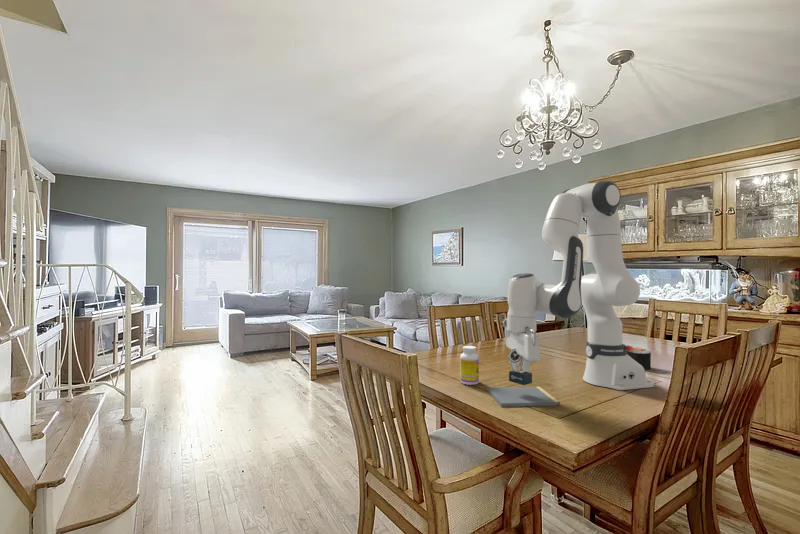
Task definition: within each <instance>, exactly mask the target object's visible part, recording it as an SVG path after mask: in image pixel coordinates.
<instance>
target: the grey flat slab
mask: <svg viewBox="0 0 800 534" xmlns="http://www.w3.org/2000/svg"><path fill="white" fill-rule="evenodd" d="M487 392H488V394H490V395H491V397H492V396H493V397H492V398H493V399H494V401H496V403H498V405H499V406H500V407H502V408H503V407H504V408H505V407H508V406H511V407H546V406H553V407H555V406H561V402H560V401H559V400H558V399H557V398H555V397H554V396H553V395H552V394H550V393H549V392H547V391H546V390H545V389H543V388H542V387H541V386H524V387H523V386H518V387H516V386H515V387H513V386H512V387H511V386H510V387H487Z"/></svg>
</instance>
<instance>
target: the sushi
mask: <svg viewBox="0 0 800 534" xmlns="http://www.w3.org/2000/svg"><path fill="white" fill-rule="evenodd" d="M633 350H634V351H633V352H629V351H627V350H626V351H627V355H629V356H630V357H631V358H632V359H634V360H635V361H636V362H638V363H639V364H640V365H642V366H643V368H644V370H645V371H650V370H652V369H651V368H652V367H651V366H652V365H651V363H652V361H651V360H652V351H651V350H649V349H647V348H643V347H639V346H638V347H633Z"/></svg>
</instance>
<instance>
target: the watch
mask: <svg viewBox="0 0 800 534" xmlns="http://www.w3.org/2000/svg"><path fill="white" fill-rule="evenodd" d="M507 358H508V360H509V365H510V368H511V369H512V370H510V371H508V382H511V383H514V384H518V385H522V386H526V385H530V384H532V383H533V373H532V372H529V371H528V372H524V371H523V370H522V365H523V357H522V356H520V355H519V354H517V352H516V348H515V349H513V350H511V349H510V351H509V353H508V357H507ZM520 363H521V365H520ZM519 365H520V369H519Z"/></svg>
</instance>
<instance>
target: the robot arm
mask: <svg viewBox="0 0 800 534" xmlns="http://www.w3.org/2000/svg"><path fill="white" fill-rule="evenodd" d="M621 195H622V194H621V190H620V188H619V186H618V185H617V184H616V183H614V182H613V181H611V180H600V181H598V182H592V183H591V182H590V183H585V184H582V185H580V186H577V187H574V188H571V189H566V190H564V191H562V192H560V194H557V195H556V196H555V197H554V198H553V199H552V201H551V203H550V205H549V207H548V210H547V213H546V215H545V218H544V222H543V226H542V229H541V238H542V241H543V242H544V243H545V245H546V246H547V247H549V248H550V249H552V250H554V251H555V252H558V253H559V254H561V255H562V259H563V260H562V261H563V262H562V263H563V264H562V272H561V280H560V283H558V284H550V283H549V284H548V283H544V282H542V281H540V280H538V278H536V276H535V274H533V273H518V274H515V275H512V276H511V277H510V279H509V281H508V286H507V305H508V310H507V317H506V318H505V319H503V326H504V342H505V345H506V346H505V347H506V348H508V349H509V350H510V351H511V350H513V349H515V348H516V352H517V354H519V355H520V356H522V357H523V361H522V362H523V365H522V362H521V363H520V365H519V366H520V367H521V365H522V370H523V371H524V372H529V371H530V366H531V363H532V362H538V361H540V358H541V348H540V345H541V344H540V339H539V336H538V335H537V334H536V331H537V316H538V315H537V313H538V314H539V313H540V314H544V315H549V316H550V315H551V316H554V317H559V318H562V319H571V318H572V317H574V316H575V315H577V314H578V312H579V311H580V310H581V308H582V307H583V309H584V312H585V316H586V323H587V324H586V325H587V327H586V329H587V340H586V343H585V345H586V346H585V353H586V355H585V356H586V361H585V369H584V373H583V377H582V380H583V381H584V382H585V383H588V384H591V385H594V386H599V387H602V388H603V387H604V388H610V389H614V390H617V391H624V390H625V391H626V390H637V389H646V388H654V387H655V385H654V382H653V381H651V380H650V379H648V378H647V375H646V370H644V368H643V366H642V365H640V364H639V363H638V362H636V361H635V360H634V359H632V358H631V357H630V356H629V355H627V351H629V352H633V351H634V350H633V348H634V347H633V346H632V345H625V344H624V343H623V321H622V320H621V318H619V316H618V315H617V314H616V312H615V310H614V307H623V306H624V307H625V306H630V305H633V304H635V303H636V302H637V301H638V300H639V297H640V294H641V287H640V285H639V283H638V281H637V280H636V279H634V277H633V276H631V274H630V273H629V270H628V269H627V266H626V263H625V260H624V258H623V249H622V247H623V246H622V227H621V222H620V221H621V220H620V215H619V212H618V207H619V206H620V203H621V197H622V196H621ZM582 218H585V219H586V230H585V231H586V232H585V234H586V236H585V237H586V239H585V240H586V257H587V259H588V260H589V262H591V264H592V265H593V266H594V269H595V272H596V273H589V274H585V275H584V274H583V263H584V244H583V241H582V240H581V239H580V238H579V229H580V225H581V219H582ZM626 350H627V351H626ZM519 366H518V367H519Z"/></svg>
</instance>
